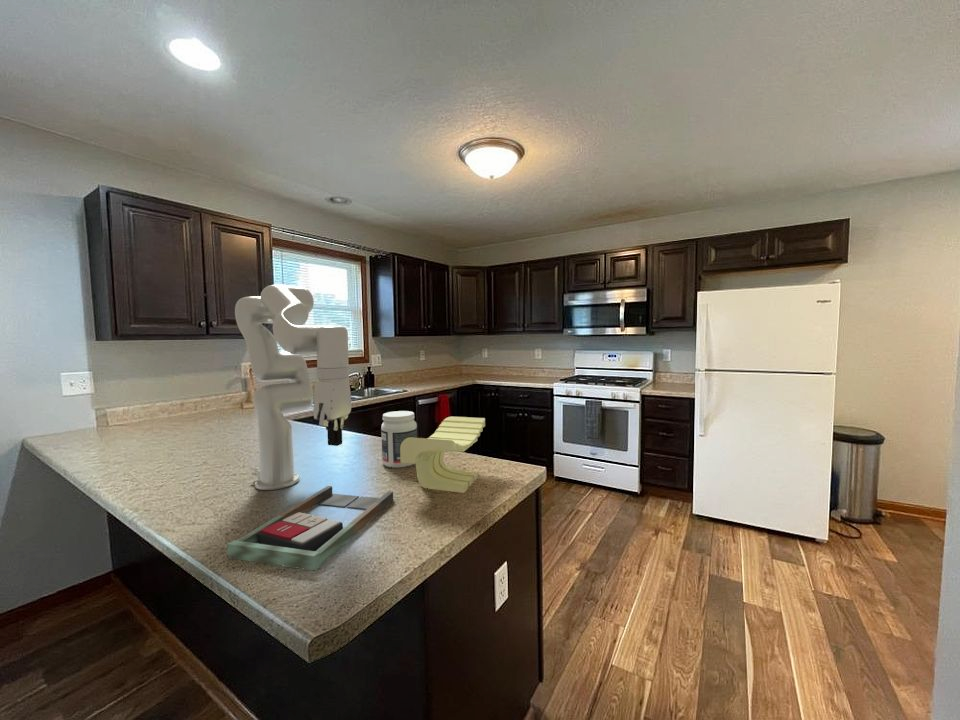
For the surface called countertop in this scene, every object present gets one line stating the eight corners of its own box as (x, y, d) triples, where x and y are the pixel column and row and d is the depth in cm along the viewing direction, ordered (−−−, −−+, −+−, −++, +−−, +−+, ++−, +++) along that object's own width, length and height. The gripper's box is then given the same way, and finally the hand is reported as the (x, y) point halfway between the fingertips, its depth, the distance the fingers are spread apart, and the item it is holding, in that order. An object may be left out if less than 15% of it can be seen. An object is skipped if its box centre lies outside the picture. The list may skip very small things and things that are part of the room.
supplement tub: (423, 459, 146) (422, 410, 145) (409, 470, 134) (408, 417, 133) (391, 457, 149) (390, 409, 148) (375, 468, 137) (373, 416, 135)
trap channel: (227, 557, 81) (227, 543, 81) (327, 494, 114) (327, 484, 114) (314, 570, 76) (314, 556, 76) (393, 500, 109) (393, 490, 109)
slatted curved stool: (443, 464, 139) (442, 415, 138) (485, 469, 134) (485, 418, 133) (401, 498, 110) (399, 436, 109) (453, 504, 106) (452, 440, 105)
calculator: (299, 510, 96) (343, 519, 89) (300, 527, 96) (344, 537, 89) (256, 529, 86) (301, 541, 79) (258, 548, 86) (303, 562, 79)
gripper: (337, 371, 107) (339, 436, 108) (300, 377, 93) (302, 452, 94) (362, 371, 105) (363, 438, 107) (328, 377, 91) (330, 454, 92)
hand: (335, 444), depth 100 cm, fingers closed
